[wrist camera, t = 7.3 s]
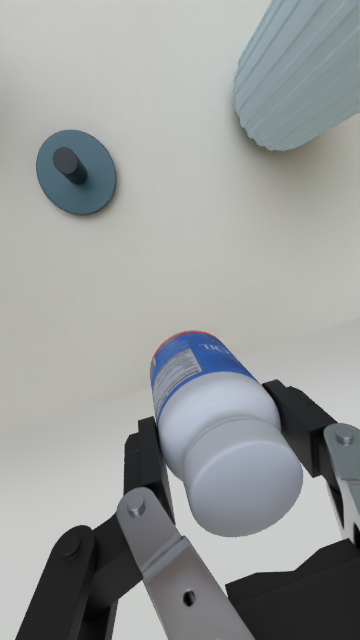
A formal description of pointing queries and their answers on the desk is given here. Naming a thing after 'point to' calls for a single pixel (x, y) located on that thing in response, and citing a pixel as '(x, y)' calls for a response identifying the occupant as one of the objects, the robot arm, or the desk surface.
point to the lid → (76, 172)
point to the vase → (299, 72)
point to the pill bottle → (222, 436)
